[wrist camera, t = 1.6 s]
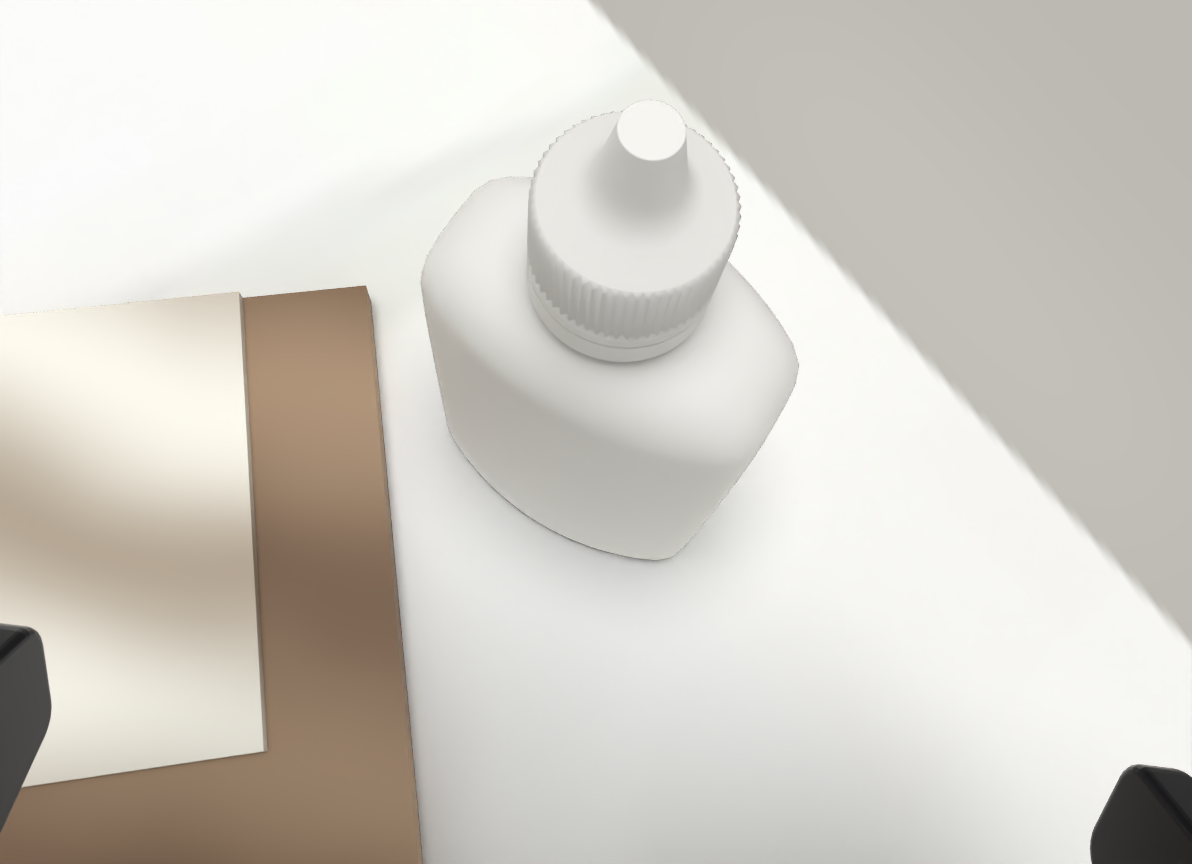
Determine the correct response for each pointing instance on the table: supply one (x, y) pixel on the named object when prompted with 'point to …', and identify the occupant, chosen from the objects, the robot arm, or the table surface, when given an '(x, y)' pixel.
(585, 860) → the table surface
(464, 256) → the eye dropper bottle
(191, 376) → the board
